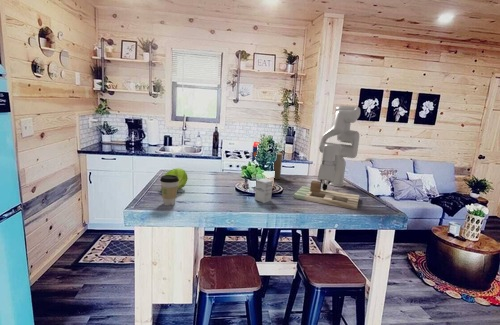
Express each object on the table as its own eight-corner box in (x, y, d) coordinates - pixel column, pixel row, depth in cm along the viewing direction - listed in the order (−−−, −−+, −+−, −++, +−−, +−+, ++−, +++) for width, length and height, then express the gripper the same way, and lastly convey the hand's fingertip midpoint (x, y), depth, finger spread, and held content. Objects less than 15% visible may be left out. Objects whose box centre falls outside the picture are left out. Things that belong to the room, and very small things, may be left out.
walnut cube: (311, 188, 206) (312, 180, 204) (320, 190, 203) (321, 181, 202) (310, 191, 200) (311, 182, 199) (319, 192, 198) (320, 183, 197)
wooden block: (279, 179, 235) (281, 154, 232) (266, 178, 237) (268, 153, 233) (280, 176, 245) (282, 152, 241) (268, 175, 247) (270, 151, 243)
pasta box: (251, 176, 239) (254, 141, 234) (261, 177, 239) (264, 142, 234) (250, 185, 212) (253, 146, 206) (261, 186, 212) (264, 147, 206)
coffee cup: (163, 199, 170) (163, 174, 167) (180, 201, 170) (181, 175, 167) (157, 205, 160) (157, 178, 158) (175, 207, 160) (176, 179, 157)
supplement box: (254, 200, 181) (255, 179, 179) (261, 197, 187) (263, 178, 184) (263, 203, 177) (265, 182, 174) (271, 200, 182) (273, 180, 180)
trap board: (302, 189, 213) (302, 185, 212) (358, 198, 199) (359, 195, 198) (293, 198, 191) (294, 194, 190) (356, 209, 177) (357, 205, 176)
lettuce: (161, 194, 179) (162, 172, 177) (163, 185, 199) (163, 165, 196) (188, 194, 183) (188, 172, 181) (186, 185, 202) (187, 165, 200)
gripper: (340, 163, 198) (336, 190, 201) (317, 160, 203) (314, 187, 206) (338, 165, 191) (335, 193, 194) (315, 162, 196) (312, 189, 199)
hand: (324, 190), depth 200 cm, fingers closed
